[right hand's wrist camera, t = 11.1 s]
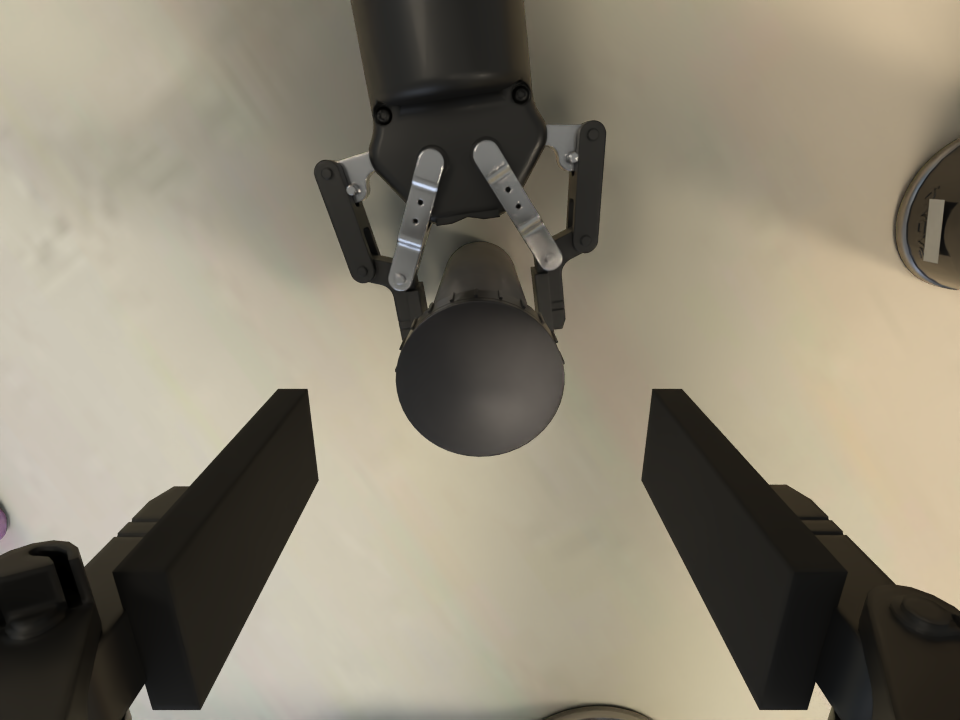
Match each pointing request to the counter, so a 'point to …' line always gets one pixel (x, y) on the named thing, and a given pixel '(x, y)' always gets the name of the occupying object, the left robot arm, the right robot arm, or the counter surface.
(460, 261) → the dark grey cylinder
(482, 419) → the lid
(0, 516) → the figurine
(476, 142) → the left robot arm
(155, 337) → the counter surface
